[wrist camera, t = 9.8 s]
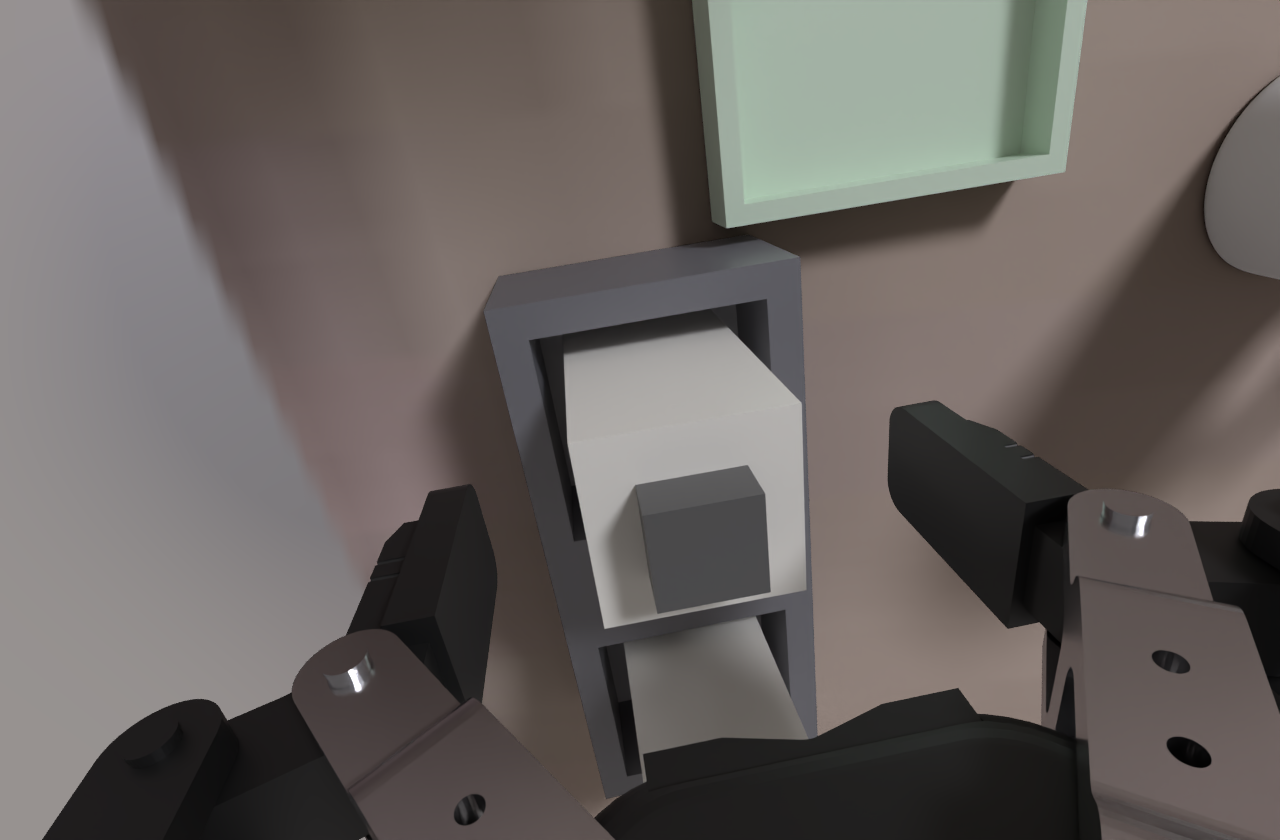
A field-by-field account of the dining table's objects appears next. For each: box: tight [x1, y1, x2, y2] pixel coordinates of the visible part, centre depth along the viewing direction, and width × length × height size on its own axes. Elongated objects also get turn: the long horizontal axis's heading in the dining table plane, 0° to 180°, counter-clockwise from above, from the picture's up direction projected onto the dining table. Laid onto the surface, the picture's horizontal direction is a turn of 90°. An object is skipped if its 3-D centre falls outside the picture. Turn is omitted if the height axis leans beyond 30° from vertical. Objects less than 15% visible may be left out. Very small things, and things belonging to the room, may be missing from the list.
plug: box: [563, 309, 807, 629], centre depth 14 cm, size 4×4×8 cm
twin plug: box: [624, 616, 808, 783], centre depth 18 cm, size 4×4×8 cm
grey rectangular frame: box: [484, 234, 817, 799], centre depth 19 cm, size 16×7×4 cm, turn 8°
